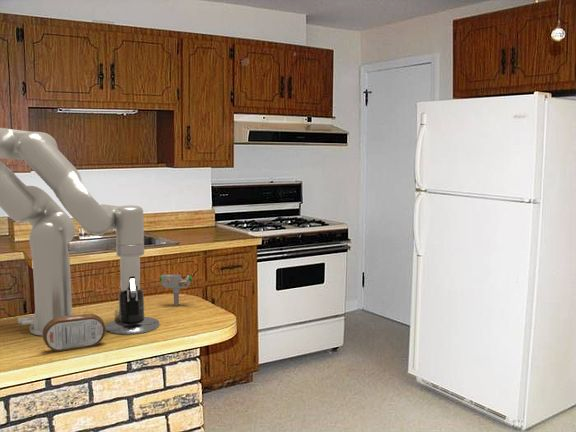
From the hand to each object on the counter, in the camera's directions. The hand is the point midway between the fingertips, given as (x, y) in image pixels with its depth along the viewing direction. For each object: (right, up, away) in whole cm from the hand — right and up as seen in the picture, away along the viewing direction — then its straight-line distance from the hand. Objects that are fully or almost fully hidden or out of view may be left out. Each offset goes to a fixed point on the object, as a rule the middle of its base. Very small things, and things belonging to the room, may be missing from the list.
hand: (131, 310), depth 165 cm
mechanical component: (+8, -2, +22) cm, 24 cm away
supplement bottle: (0, -3, 0) cm, 3 cm away
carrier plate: (0, -5, +1) cm, 5 cm away
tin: (-10, -7, -17) cm, 21 cm away
